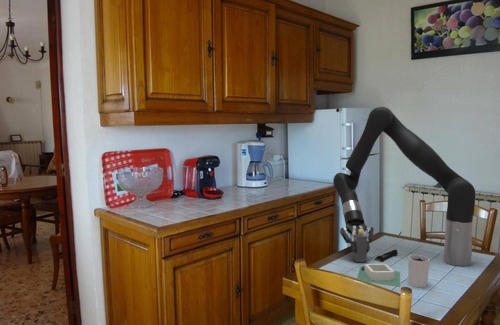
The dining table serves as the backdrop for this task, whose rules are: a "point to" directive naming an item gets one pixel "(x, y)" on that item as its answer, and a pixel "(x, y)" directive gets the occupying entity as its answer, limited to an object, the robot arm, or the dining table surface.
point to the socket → (379, 272)
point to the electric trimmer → (386, 256)
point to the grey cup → (418, 270)
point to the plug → (360, 247)
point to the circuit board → (392, 283)
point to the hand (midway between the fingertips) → (361, 251)
